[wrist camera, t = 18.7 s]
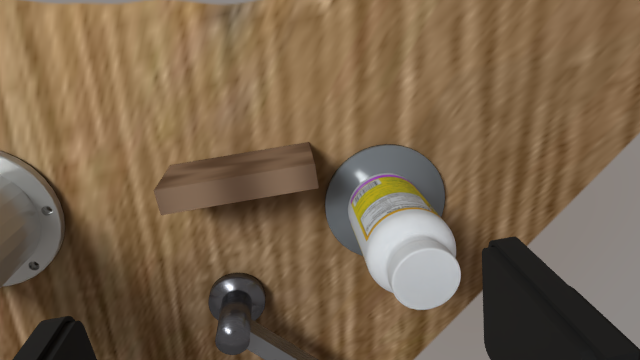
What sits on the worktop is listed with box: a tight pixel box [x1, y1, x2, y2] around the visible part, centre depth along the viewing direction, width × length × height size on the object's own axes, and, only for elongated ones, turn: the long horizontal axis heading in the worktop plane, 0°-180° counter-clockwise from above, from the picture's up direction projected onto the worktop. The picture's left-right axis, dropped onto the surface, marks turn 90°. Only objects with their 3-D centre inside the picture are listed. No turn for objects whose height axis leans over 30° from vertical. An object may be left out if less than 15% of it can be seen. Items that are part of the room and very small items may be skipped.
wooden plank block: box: [154, 142, 319, 215], centre depth 38 cm, size 12×2×6 cm, turn 98°
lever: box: [209, 273, 318, 360], centre depth 44 cm, size 18×5×7 cm, turn 50°
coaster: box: [325, 144, 445, 256], centre depth 43 cm, size 11×11×1 cm
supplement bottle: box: [348, 173, 461, 310], centre depth 37 cm, size 7×7×13 cm
